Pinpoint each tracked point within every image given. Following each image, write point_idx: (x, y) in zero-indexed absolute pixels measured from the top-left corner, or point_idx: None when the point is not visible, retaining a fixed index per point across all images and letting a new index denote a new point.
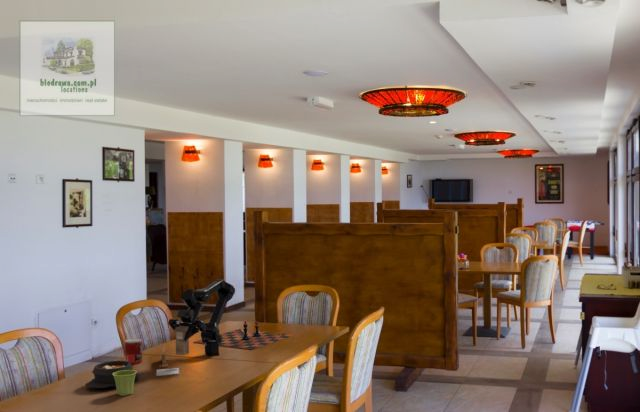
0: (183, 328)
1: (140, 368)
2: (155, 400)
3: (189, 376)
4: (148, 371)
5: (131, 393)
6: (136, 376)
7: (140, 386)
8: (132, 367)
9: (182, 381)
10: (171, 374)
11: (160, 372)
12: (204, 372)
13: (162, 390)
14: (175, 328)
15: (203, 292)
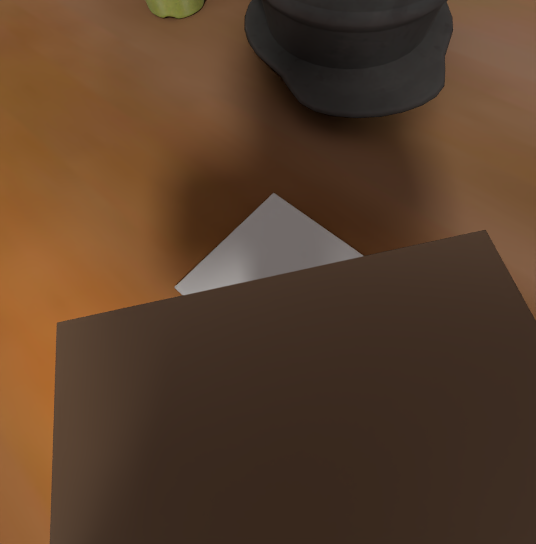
0: (62, 341)
1: (528, 252)
2: (11, 13)
3: (75, 286)
4: (408, 233)
5: (147, 4)
6: (287, 79)
7: (198, 68)
8: (288, 6)
9: (54, 200)
10: (211, 254)
11: (304, 242)
12: (27, 415)
13: (61, 79)
14: (459, 248)
15: None
